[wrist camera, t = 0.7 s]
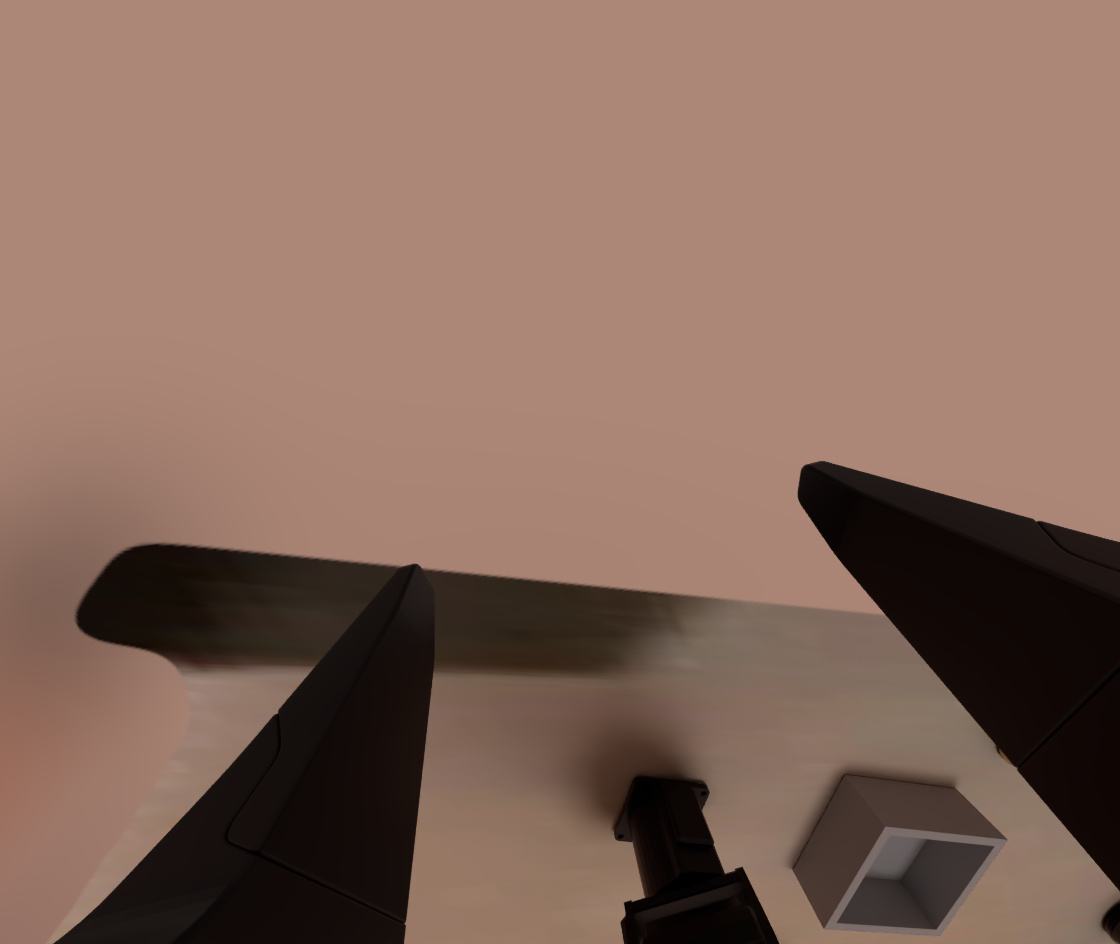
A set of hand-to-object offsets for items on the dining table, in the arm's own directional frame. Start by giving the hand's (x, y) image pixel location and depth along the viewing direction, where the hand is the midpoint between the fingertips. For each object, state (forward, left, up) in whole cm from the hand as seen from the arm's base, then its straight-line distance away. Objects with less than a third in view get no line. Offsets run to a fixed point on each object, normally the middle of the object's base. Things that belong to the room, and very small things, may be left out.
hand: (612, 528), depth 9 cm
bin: (-29, -37, -16) cm, 50 cm away
